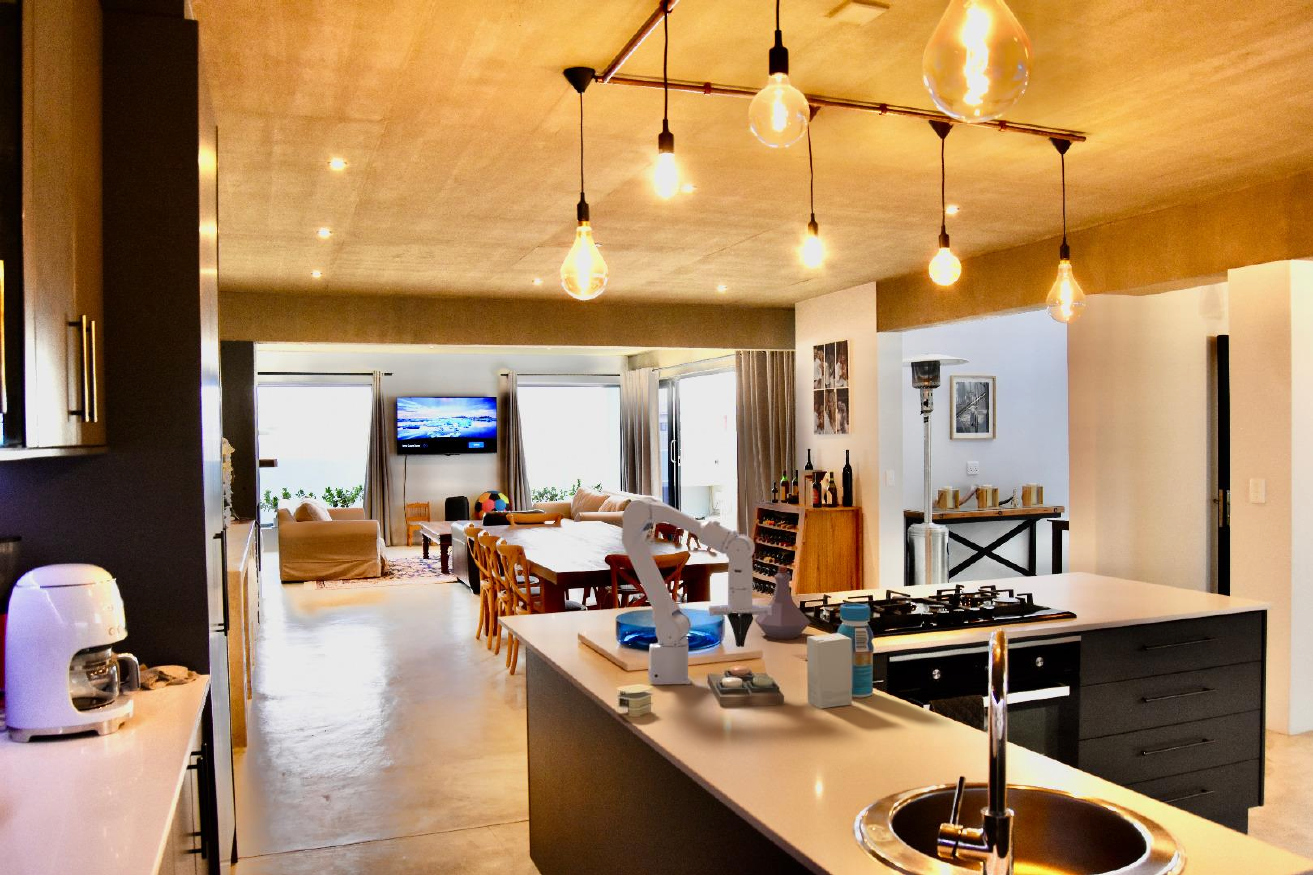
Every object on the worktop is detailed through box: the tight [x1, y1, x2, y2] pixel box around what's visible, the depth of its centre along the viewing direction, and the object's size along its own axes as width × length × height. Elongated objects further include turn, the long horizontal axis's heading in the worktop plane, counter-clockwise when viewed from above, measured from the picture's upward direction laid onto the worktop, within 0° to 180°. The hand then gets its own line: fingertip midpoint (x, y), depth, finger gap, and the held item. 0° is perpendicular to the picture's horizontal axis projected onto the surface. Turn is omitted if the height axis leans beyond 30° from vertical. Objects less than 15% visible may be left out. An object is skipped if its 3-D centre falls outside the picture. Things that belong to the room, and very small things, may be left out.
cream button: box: [722, 677, 742, 688], centre depth 218 cm, size 4×4×1 cm
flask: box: [753, 565, 812, 640], centre depth 286 cm, size 16×16×20 cm
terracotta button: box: [729, 665, 750, 676], centre depth 229 cm, size 4×4×1 cm
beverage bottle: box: [836, 602, 875, 699], centre depth 223 cm, size 8×8×20 cm
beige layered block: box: [615, 683, 654, 718], centre depth 208 cm, size 10×9×6 cm
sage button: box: [753, 676, 774, 687], centre depth 220 cm, size 4×4×1 cm
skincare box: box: [806, 632, 853, 710], centre depth 215 cm, size 8×6×15 cm
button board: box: [707, 669, 785, 707], centre depth 223 cm, size 14×20×3 cm
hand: (739, 645), depth 229 cm, fingers closed
